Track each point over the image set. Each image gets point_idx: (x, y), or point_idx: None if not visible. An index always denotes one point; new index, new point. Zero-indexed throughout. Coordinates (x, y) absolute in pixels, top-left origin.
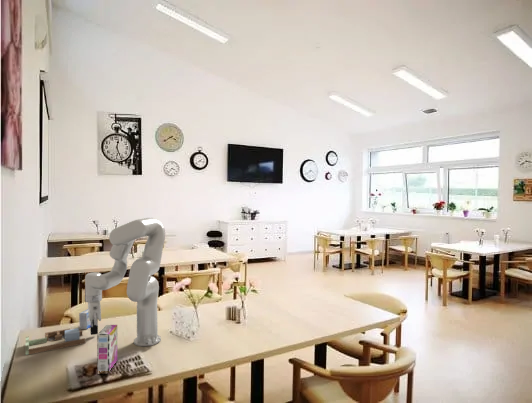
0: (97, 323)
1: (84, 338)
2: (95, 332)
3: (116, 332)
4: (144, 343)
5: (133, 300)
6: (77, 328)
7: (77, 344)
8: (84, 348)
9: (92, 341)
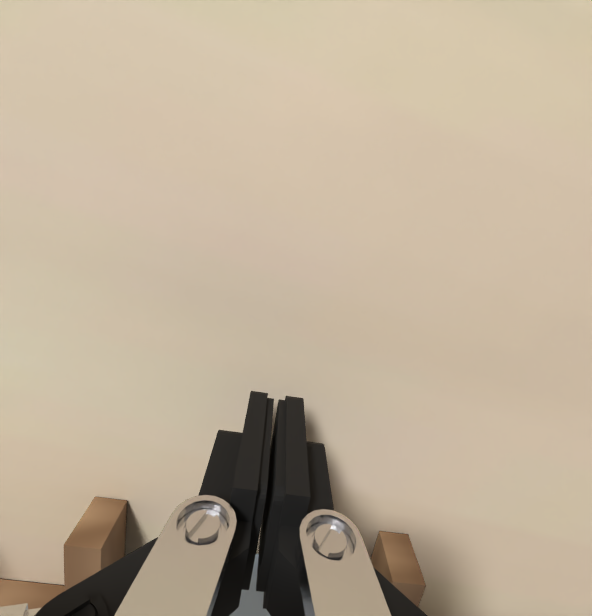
0: (382, 600)
1: (399, 585)
2: (322, 454)
3: None
4: None
5: None
6: None
7: None
8: (545, 568)
9: (418, 465)
